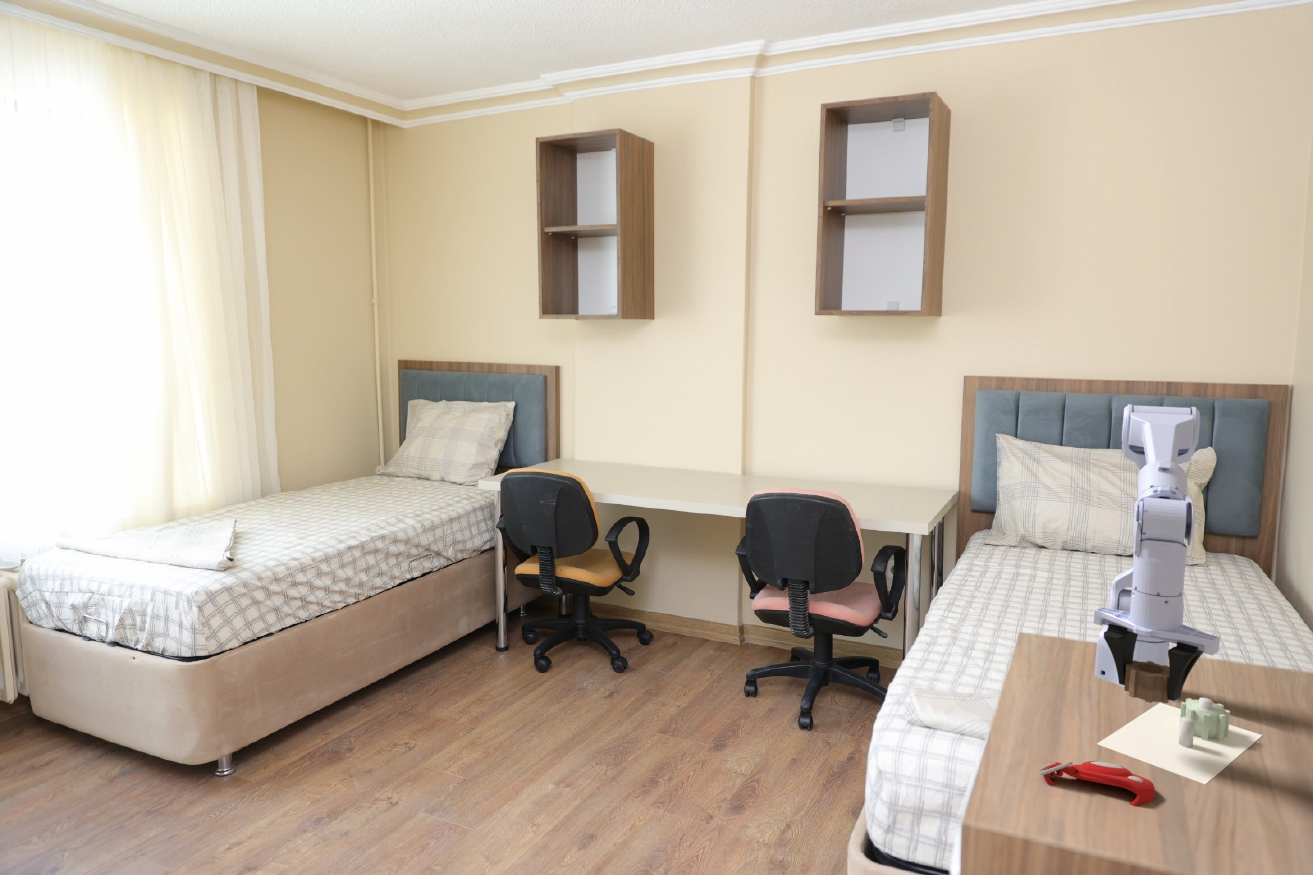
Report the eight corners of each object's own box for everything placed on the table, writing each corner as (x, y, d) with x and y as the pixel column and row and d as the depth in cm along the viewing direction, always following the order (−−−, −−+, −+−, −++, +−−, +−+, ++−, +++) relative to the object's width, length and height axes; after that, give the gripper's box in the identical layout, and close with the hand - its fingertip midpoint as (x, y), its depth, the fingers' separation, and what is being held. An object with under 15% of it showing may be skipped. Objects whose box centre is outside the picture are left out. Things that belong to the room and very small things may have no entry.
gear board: (1096, 751, 117) (1099, 711, 116) (1159, 708, 129) (1162, 673, 129) (1204, 792, 107) (1208, 749, 106) (1261, 742, 119) (1265, 703, 118)
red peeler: (1099, 756, 114) (1172, 774, 105) (1098, 792, 113) (1171, 813, 104) (1030, 753, 109) (1100, 771, 100) (1029, 790, 108) (1099, 812, 99)
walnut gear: (1117, 692, 115) (1119, 667, 115) (1135, 681, 119) (1137, 657, 118) (1161, 707, 111) (1164, 680, 111) (1179, 695, 114) (1181, 669, 114)
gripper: (1085, 582, 116) (1078, 680, 118) (1207, 611, 105) (1197, 718, 107) (1110, 572, 120) (1103, 667, 122) (1229, 599, 109) (1219, 702, 111)
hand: (1148, 690), depth 115 cm, fingers closed on walnut gear, 5 cm apart
